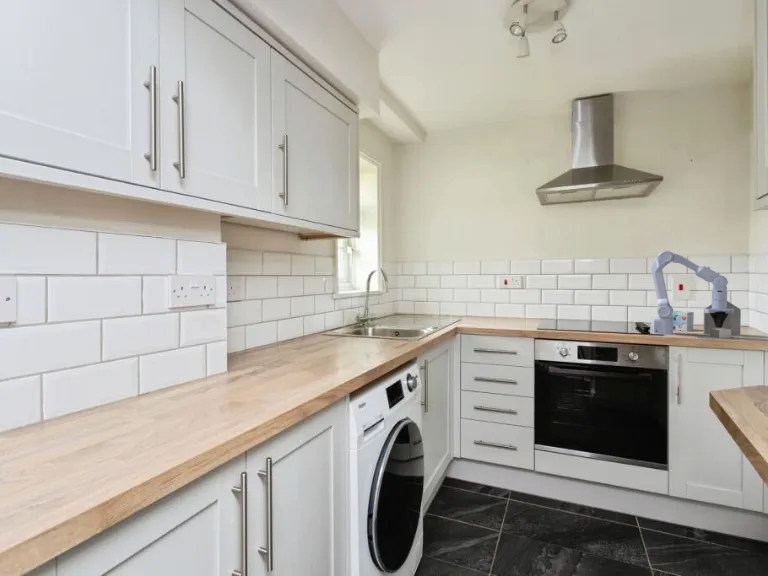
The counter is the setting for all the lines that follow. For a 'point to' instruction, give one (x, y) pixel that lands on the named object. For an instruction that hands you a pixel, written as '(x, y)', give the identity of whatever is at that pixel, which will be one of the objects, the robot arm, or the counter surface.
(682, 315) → the light bulb box
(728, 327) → the gray chamfered slab
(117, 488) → the counter surface
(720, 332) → the cream block
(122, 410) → the counter surface
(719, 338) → the rubber mat
